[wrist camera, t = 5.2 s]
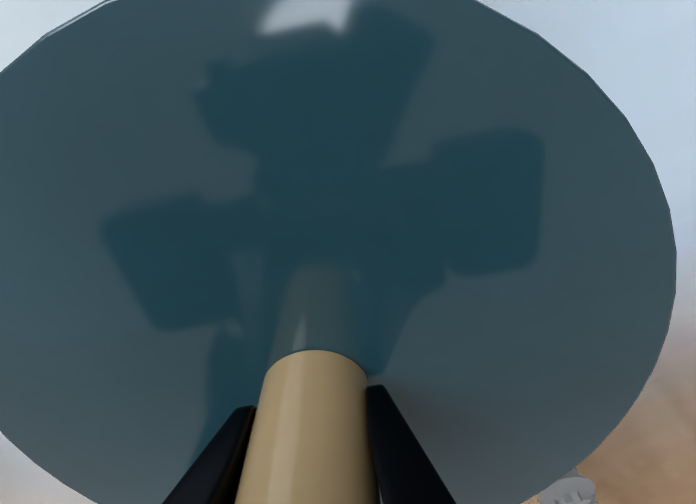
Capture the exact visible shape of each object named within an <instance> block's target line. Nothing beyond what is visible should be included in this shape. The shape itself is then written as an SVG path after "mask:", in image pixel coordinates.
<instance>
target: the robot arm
mask: <svg viewBox="0 0 696 504" xmlns="http://www.w3.org/2000/svg"><path fill="white" fill-rule="evenodd" d="M366 407H367V425H368V438H369V444H370V449H371V453H372V458H373V462H374V467H375V471H376V475H377V480H378V484H379V489H380V493H381V498H382V502H383V504H456V502H455V500H454V499H453V497H452V496H451V494H450V492H449V491H448V489H447V487H446V486H445V484H444V482H443V481H442V479H441V478H440V476H439V474H438V473H437V471H436V469H435V468H434V466H433V465H432V463H431V461H430V460H429V458H428V456H427V455H426V453H425V451H424V450H423V448H422V447H421V445H420V443H419V442H418V440H417V438H416V437H415V435H414V434H413V432H412V430H411V429H410V427H409V425H408V424H407V422H406V420H405V419H404V417H403V416H402V414H401V412H400V411H399V409H398V407H397V406H396V404H395V403H394V401H393V399H392V398H391V396H390V394H389V393H388V391H387V389H386V388H385V386H384V385H382V384H379V385H373V386H368V387H367V388H366ZM255 414H256V407H255V406H253V405H249V406H243V407H238V408H236V409H235V410H234V411H233V413H232V414H231V415H230V416H229V418H228V419H227V420H226V422H225V423H224V424H223V425H222V427H221V428H220V429H219V431H218V432H217V433H216V434H215V436H214V437H213V438H212V440H211V441H210V442H209V444H208V445H207V446H206V447H205V449H204V450H203V451H202V453H201V454H200V455H199V456H198V458H197V459H196V460H195V462H194V463H193V464H192V466H191V467H190V468H189V469H188V471H187V472H186V473H185V475H184V476H183V477H182V478H181V480H180V481H179V482H178V484H177V485H176V486H175V487H174V489H173V490H172V491H171V493H170V494H169V495H168V497H167V498H166V499H165V500H164V502H163V503H162V504H234V503H235V499H236V495H237V490H238V486H239V482H240V477H241V473H242V469H243V465H244V460H245V456H246V452H247V448H248V443H249V439H250V435H251V431H252V426H253V422H254V418H255Z"/></svg>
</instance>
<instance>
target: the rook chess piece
mask: <svg viewBox="0 0 696 504" xmlns="http://www.w3.org/2000/svg"><path fill="white" fill-rule="evenodd" d="M595 491H596V486H595V484H594V483H593V481H591V480H590V479H588V478H586V477H584V476H583V475H581V474H579V473H578V471H577V469H576V467H575V468H574V469H572V470H571V471H570V472H568V473H567V474H566V475H564V476H563V477H561V478H560V479H559V480H557V481H556V482H555V483H553V484H552V485H550V486H549V487H548V488H546V489H545V490H543V491H541V492H540V493H539V500H538V501H539V502H540V503H541V504H598V502H597V501H596V499H595Z"/></svg>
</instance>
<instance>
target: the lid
mask: <svg viewBox="0 0 696 504" xmlns="http://www.w3.org/2000/svg"><path fill="white" fill-rule="evenodd" d="M676 253H677V252H676V246H675V240H674V233H673V227H672V221H671V214H670V209H669V206H668V203H667V200H666V197H665V195H664V192H663V189H662V186H661V184H660V181H659V178H658V175H657V172H656V170H655V167H654V164H653V162H652V161H651V159H650V157H649V155H648V154H647V152H646V150H645V149H644V147H643V145H642V144H641V142H640V140H639V139H638V137H637V135H636V133H635V132H634V130H633V128H632V127H631V125H630V123H629V122H628V120H627V118H626V117H625V116H624V115H623V113H622V112H621V111H620V110H619V109H618V108H617V107H616V105H615V104H614V103H613V102H612V101H611V100H610V99H609V97H608V96H607V95H606V94H605V93H604V92H603V91H602V89H601V88H600V87H599V86H598V85H597V84H596V83H595V81H594V80H593V79H592V78H591V77H590V76H589V75H588V73H586V72H585V71H584V70H583V69H581V68H580V67H579V66H578V65H576V64H575V63H574V62H573V61H571V60H570V59H569V58H568V57H566V56H565V55H564V54H563V53H561V52H560V51H559V50H558V49H556V48H555V47H554V46H552V45H551V44H550V43H549V42H547V41H546V40H545V39H544V38H542V37H541V36H540V35H539V34H537V33H536V32H534V31H532V30H530V29H528V28H526V27H525V26H523V25H521V24H519V23H517V22H515V21H514V20H512V19H510V18H508V17H506V16H504V15H503V14H501V13H499V12H497V11H495V10H493V9H492V8H490V7H488V6H486V5H484V4H482V3H481V2H479V1H477V0H104V1H102V2H101V3H99V4H97V5H95V6H94V7H92V8H90V9H88V10H86V11H85V12H83V13H81V14H79V15H78V16H76V17H74V18H72V19H71V20H69V21H67V22H65V23H64V24H62V25H60V26H58V27H56V28H55V29H53V30H51V31H49V32H48V33H46V34H45V35H43V36H42V37H41V38H40V39H39V40H38V41H36V42H35V43H34V44H33V45H32V46H31V47H29V48H28V49H27V50H26V51H25V52H24V53H22V54H21V55H20V56H19V57H18V58H17V59H15V60H14V61H13V62H12V63H11V64H9V65H8V66H7V67H6V68H5V69H4V70H2V71H1V72H0V431H1V432H2V433H3V434H4V435H5V437H6V438H7V439H8V440H9V441H11V442H12V443H13V444H14V445H15V446H16V447H17V448H18V449H20V450H21V451H22V452H23V453H24V454H25V455H26V456H27V457H29V458H30V459H31V460H32V461H33V462H34V463H35V464H37V465H38V466H40V467H41V468H42V469H44V470H45V471H47V472H48V473H49V474H51V475H52V476H53V477H55V478H56V479H58V480H59V481H60V482H62V483H63V484H65V485H66V486H68V487H70V488H71V489H73V490H75V491H77V492H78V493H80V494H82V495H83V496H85V497H87V498H88V499H90V500H92V501H93V502H95V503H98V504H162V503H163V502H164V500H165V499H166V498H167V497H168V495H169V494H170V493H171V491H172V490H173V489H174V487H175V486H176V485H177V484H178V482H179V481H180V480H181V478H182V477H183V476H184V475H185V473H186V472H187V471H188V469H189V468H190V467H191V466H192V464H193V463H194V462H195V460H196V459H197V458H198V456H199V455H200V454H201V453H202V451H203V450H204V449H205V447H206V446H207V445H208V444H209V442H210V441H211V440H212V438H213V437H214V436H215V434H216V433H217V432H218V431H219V429H220V428H221V427H222V425H223V424H224V423H225V422H226V420H227V419H228V418H229V416H230V415H231V414H232V413H233V411H234V410H235V409H236V408H238V407H243V406H249V405H253V406H255V407H256V414H255V418H254V422H253V426H252V431H251V435H250V439H249V443H248V448H247V452H246V456H245V460H244V465H243V469H242V473H241V477H240V482H239V486H238V490H237V495H236V499H235V503H234V504H383V502H382V498H381V493H380V489H379V484H378V480H377V475H376V471H375V467H374V462H373V458H372V453H371V449H370V444H369V438H368V425H367V407H366V388H367V387H368V386H373V385H379V384H382V385H384V386H385V388H386V389H387V391H388V393H389V394H390V396H391V398H392V399H393V401H394V403H395V404H396V406H397V407H398V409H399V411H400V412H401V414H402V416H403V417H404V419H405V420H406V422H407V424H408V425H409V427H410V429H411V430H412V432H413V434H414V435H415V437H416V438H417V440H418V442H419V443H420V445H421V447H422V448H423V450H424V451H425V453H426V455H427V456H428V458H429V460H430V461H431V463H432V465H433V466H434V468H435V469H436V471H437V473H438V474H439V476H440V478H441V479H442V481H443V482H444V484H445V486H446V487H447V489H448V491H449V492H450V494H451V496H452V497H453V499H454V500H455V502H456V504H521V503H523V502H524V501H526V500H528V499H529V498H531V497H533V496H534V495H536V494H538V493H540V492H541V491H543V490H545V489H546V488H548V487H549V486H550V485H552V484H553V483H555V482H556V481H557V480H559V479H560V478H561V477H563V476H564V475H566V474H567V473H568V472H570V471H571V470H572V469H574V468H575V467H576V466H577V465H578V464H579V463H580V462H582V461H583V460H584V459H585V458H586V457H587V456H588V455H590V454H591V453H592V452H593V451H594V450H595V449H596V448H597V447H598V446H599V445H600V444H601V443H602V442H603V441H604V440H605V439H606V437H607V436H608V435H609V434H610V433H611V432H612V431H613V430H614V429H615V428H616V427H617V425H618V424H619V423H620V422H621V420H622V419H623V418H624V416H625V415H626V413H627V412H628V411H629V409H630V408H631V406H632V405H633V404H634V402H635V401H636V400H637V398H638V397H639V395H640V393H641V391H642V390H643V388H644V386H645V384H646V382H647V380H648V378H649V377H650V375H651V373H652V371H653V369H654V367H655V365H656V363H657V360H658V357H659V355H660V352H661V349H662V346H663V344H664V341H665V338H666V336H667V333H668V329H669V324H670V319H671V314H672V309H673V304H674V299H675V294H676Z"/></svg>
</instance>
